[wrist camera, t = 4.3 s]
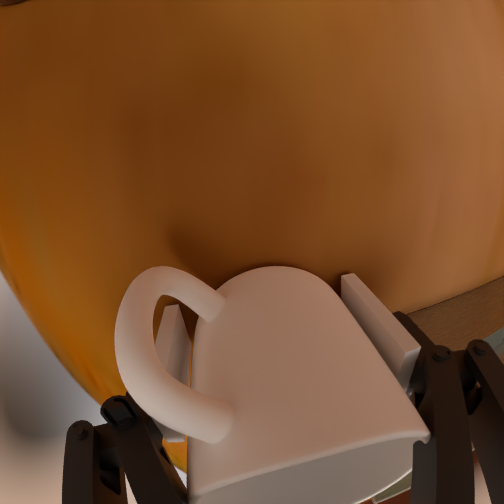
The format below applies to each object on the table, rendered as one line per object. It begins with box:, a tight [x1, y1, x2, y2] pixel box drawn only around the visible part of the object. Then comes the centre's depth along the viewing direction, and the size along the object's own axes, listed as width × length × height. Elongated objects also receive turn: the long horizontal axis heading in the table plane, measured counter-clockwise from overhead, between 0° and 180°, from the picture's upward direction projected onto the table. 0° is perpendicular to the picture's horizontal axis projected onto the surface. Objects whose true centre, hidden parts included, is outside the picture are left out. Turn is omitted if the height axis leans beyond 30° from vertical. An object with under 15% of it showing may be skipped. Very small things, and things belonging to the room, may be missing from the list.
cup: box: [115, 266, 431, 504], centre depth 10 cm, size 8×12×10 cm
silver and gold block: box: [371, 276, 504, 504], centre depth 18 cm, size 22×18×8 cm
